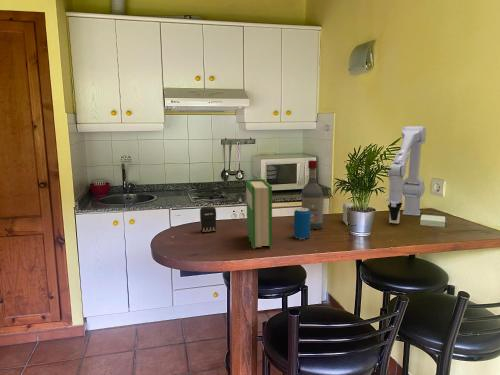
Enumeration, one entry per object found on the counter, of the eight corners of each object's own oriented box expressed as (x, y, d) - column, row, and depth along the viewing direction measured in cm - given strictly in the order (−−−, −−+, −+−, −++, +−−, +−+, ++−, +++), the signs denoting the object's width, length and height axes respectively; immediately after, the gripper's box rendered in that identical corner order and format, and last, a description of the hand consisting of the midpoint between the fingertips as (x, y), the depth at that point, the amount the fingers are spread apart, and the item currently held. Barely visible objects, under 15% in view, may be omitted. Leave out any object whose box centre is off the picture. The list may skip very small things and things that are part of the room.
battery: (201, 233, 168) (200, 208, 166) (200, 231, 172) (199, 206, 170) (217, 232, 170) (216, 207, 168) (216, 230, 173) (215, 205, 172)
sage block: (421, 219, 186) (421, 214, 185) (444, 221, 181) (445, 216, 181) (420, 224, 177) (420, 219, 176) (444, 227, 172) (445, 221, 172)
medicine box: (356, 225, 178) (356, 206, 176) (346, 225, 178) (346, 207, 176) (351, 221, 186) (352, 203, 184) (342, 221, 186) (343, 203, 184)
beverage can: (310, 235, 163) (311, 207, 161) (308, 240, 157) (309, 211, 155) (295, 234, 165) (295, 207, 163) (292, 239, 159) (293, 210, 156)
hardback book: (272, 248, 148) (271, 186, 144) (252, 249, 147) (251, 187, 143) (264, 235, 165) (263, 179, 161) (247, 236, 164) (246, 179, 160)
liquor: (322, 230, 171) (323, 162, 166) (301, 229, 172) (302, 162, 167) (321, 224, 180) (322, 159, 175) (301, 224, 181) (301, 159, 176)
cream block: (390, 220, 183) (390, 210, 182) (399, 221, 181) (399, 210, 181) (389, 222, 180) (389, 212, 179) (398, 223, 178) (399, 212, 177)
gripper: (388, 187, 186) (387, 214, 188) (384, 192, 173) (383, 221, 176) (404, 187, 183) (402, 216, 185) (401, 193, 170) (400, 223, 173)
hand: (394, 219), depth 180 cm, fingers closed on cream block, 4 cm apart
